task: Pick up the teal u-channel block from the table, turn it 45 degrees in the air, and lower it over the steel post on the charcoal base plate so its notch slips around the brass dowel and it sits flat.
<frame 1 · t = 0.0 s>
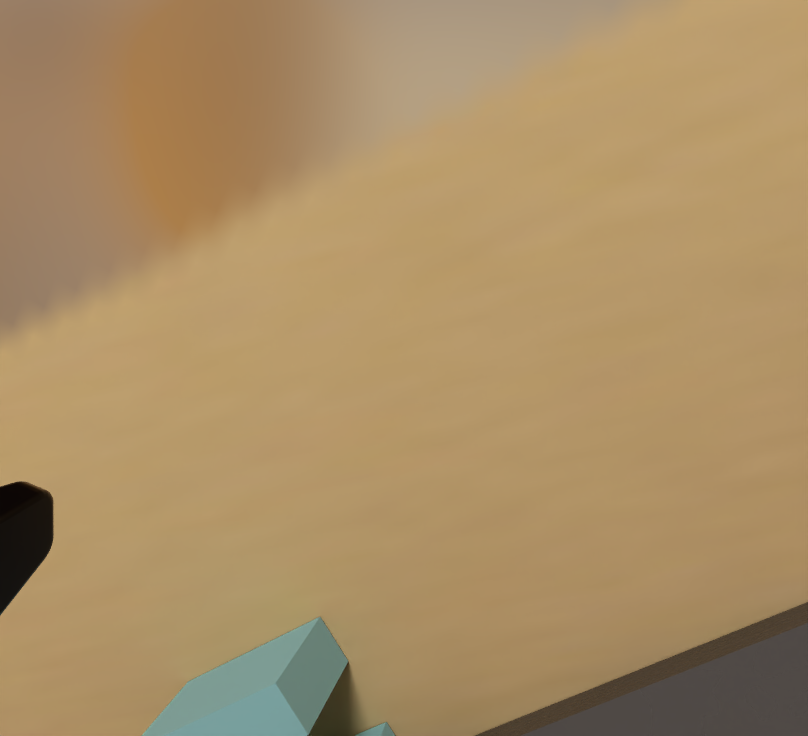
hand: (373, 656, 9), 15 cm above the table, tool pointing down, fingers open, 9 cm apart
teal u-channel block: (297, 722, 28), on the table
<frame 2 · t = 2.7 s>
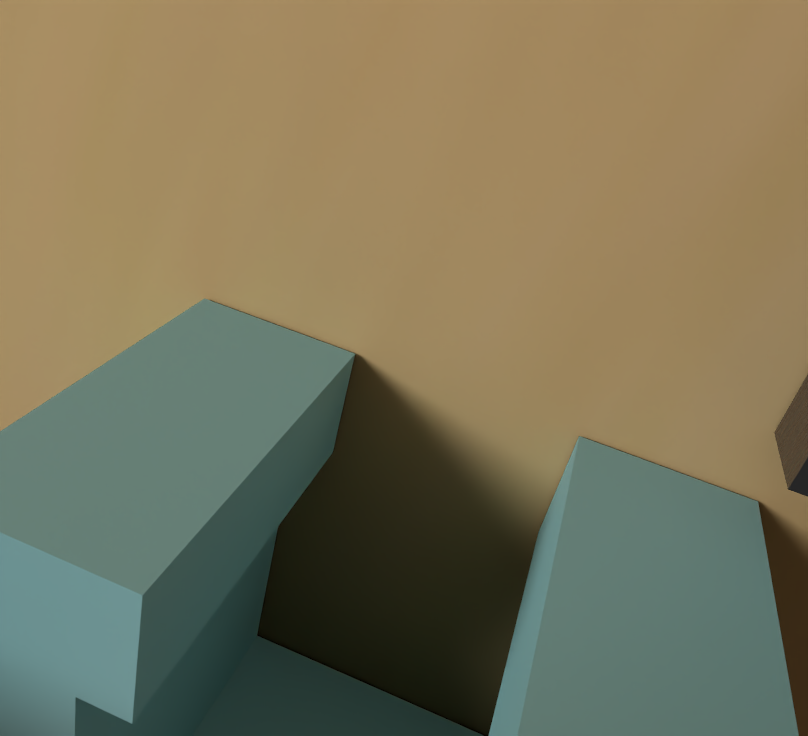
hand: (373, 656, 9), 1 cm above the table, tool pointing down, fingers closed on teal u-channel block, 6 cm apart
teal u-channel block: (399, 597, 10), on the table, touching gripper
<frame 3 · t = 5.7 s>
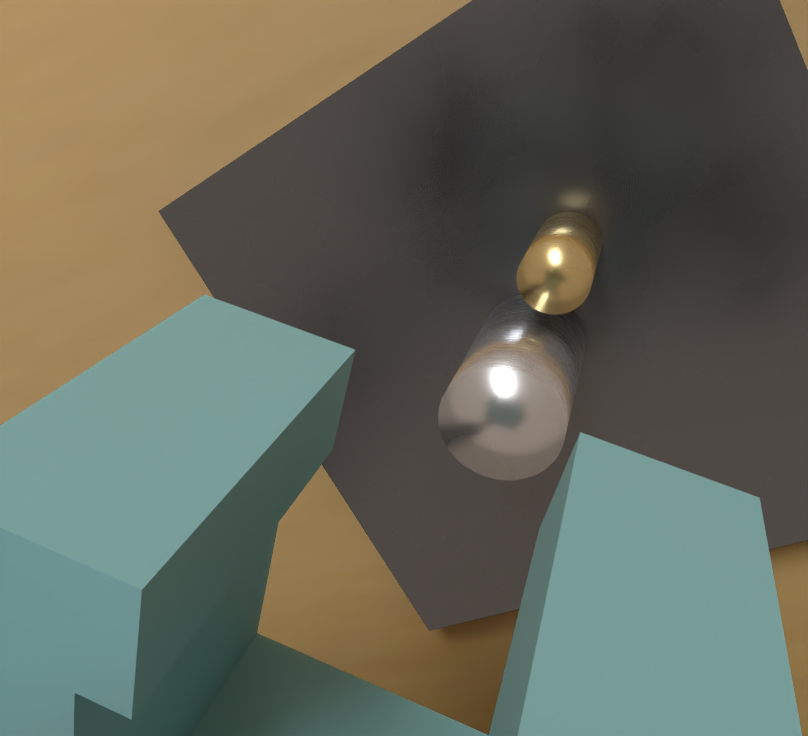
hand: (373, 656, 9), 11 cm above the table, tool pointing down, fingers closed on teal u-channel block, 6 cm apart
teal u-channel block: (399, 594, 10), point 10 cm above the table, touching gripper
base plate: (539, 326, 18), on the table
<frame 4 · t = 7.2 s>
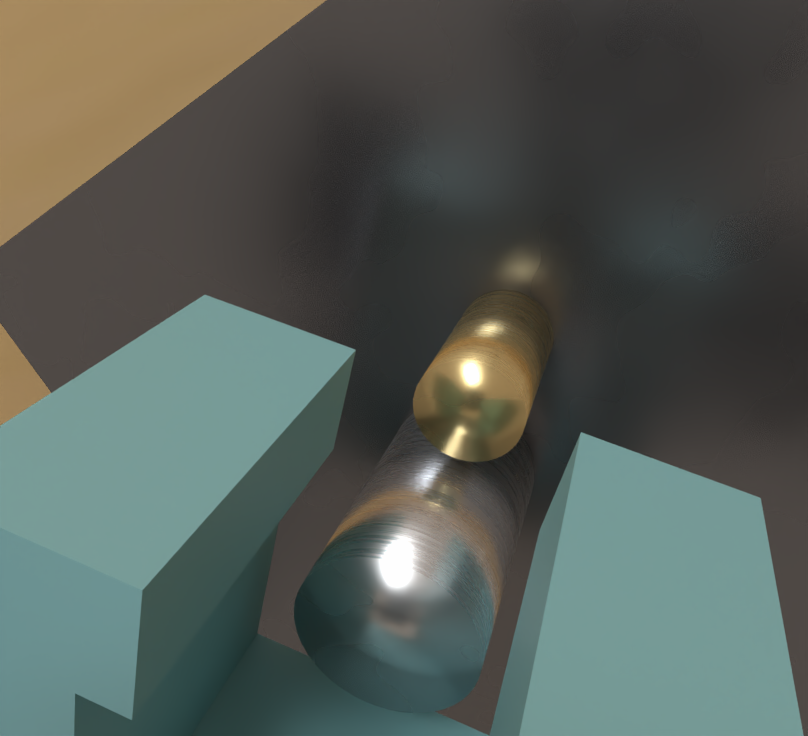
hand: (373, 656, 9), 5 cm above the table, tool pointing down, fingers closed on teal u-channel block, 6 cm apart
teal u-channel block: (400, 594, 10), point 4 cm above the table, touching gripper
base plate: (476, 434, 13), on the table
when the fingers open (3 cm above the table, at t = 8.5 s): teal u-channel block drops 1 cm, resting on base plate.
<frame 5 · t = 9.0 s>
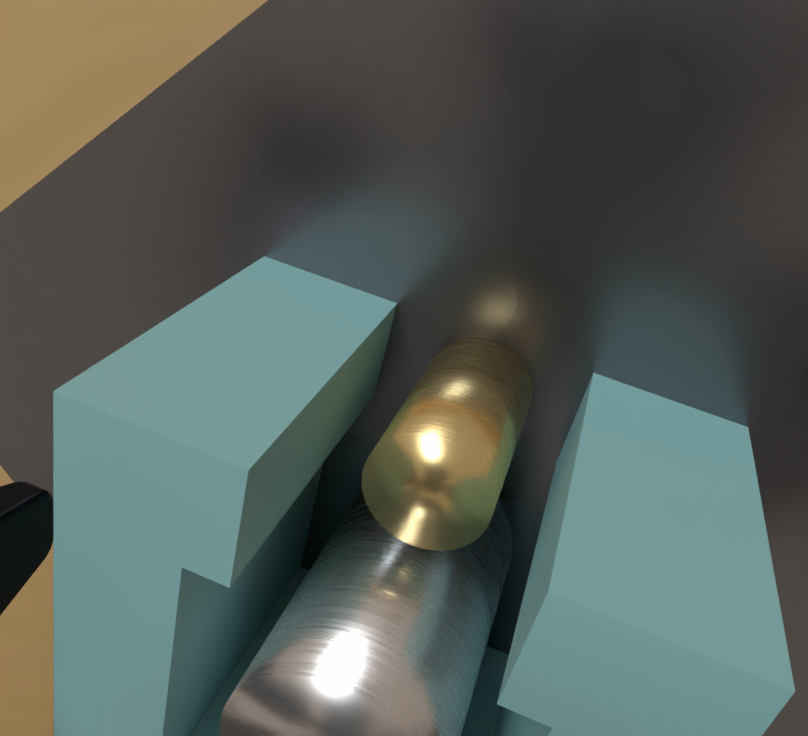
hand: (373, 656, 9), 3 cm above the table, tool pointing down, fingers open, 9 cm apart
teal u-channel block: (431, 526, 11), point 1 cm above the table, touching base plate
base plate: (449, 490, 12), on the table
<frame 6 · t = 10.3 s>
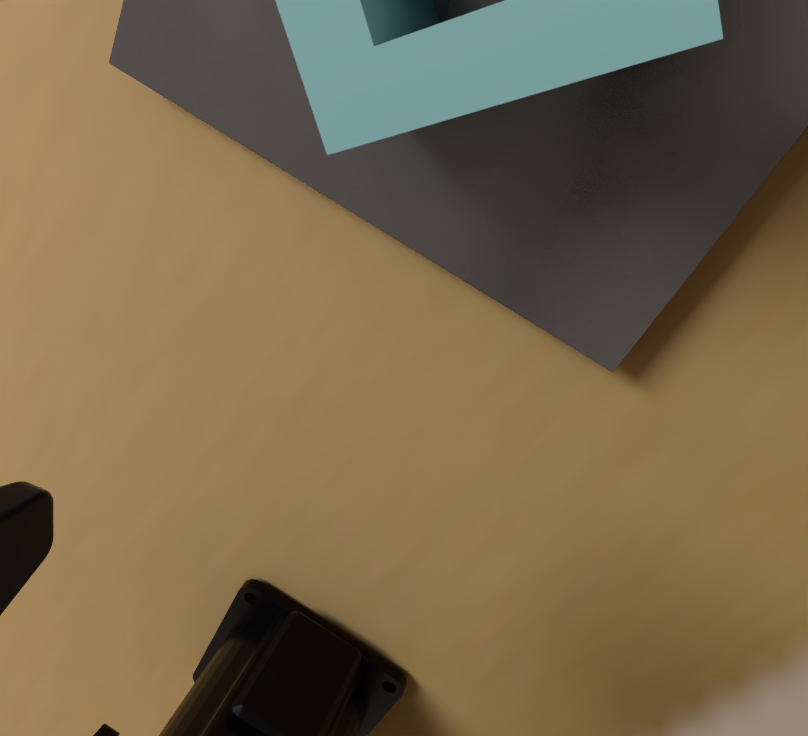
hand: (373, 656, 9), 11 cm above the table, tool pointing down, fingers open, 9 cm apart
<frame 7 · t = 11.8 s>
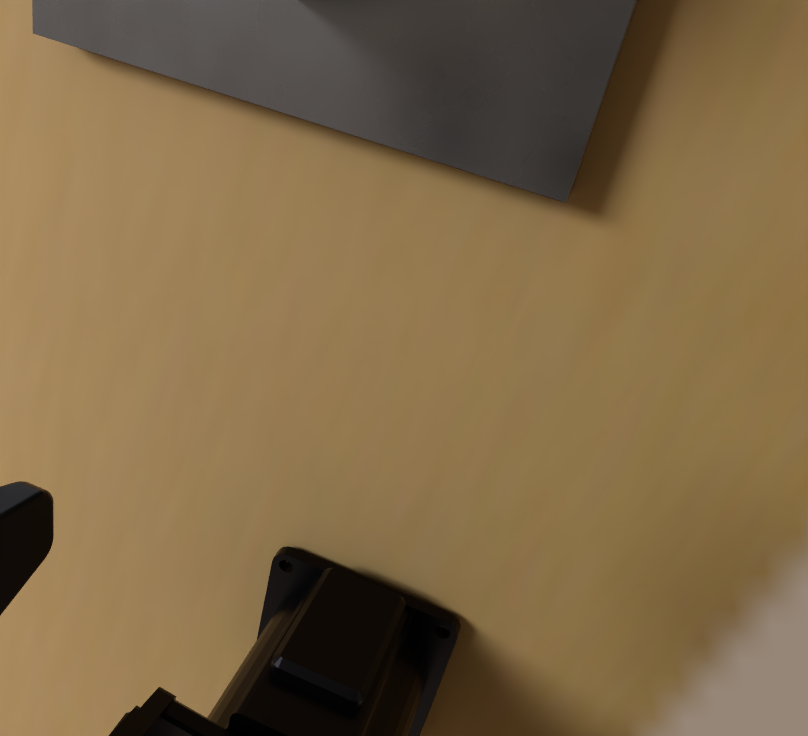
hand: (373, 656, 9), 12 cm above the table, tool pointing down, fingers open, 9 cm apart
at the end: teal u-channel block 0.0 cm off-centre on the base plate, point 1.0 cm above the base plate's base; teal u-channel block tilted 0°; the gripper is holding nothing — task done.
